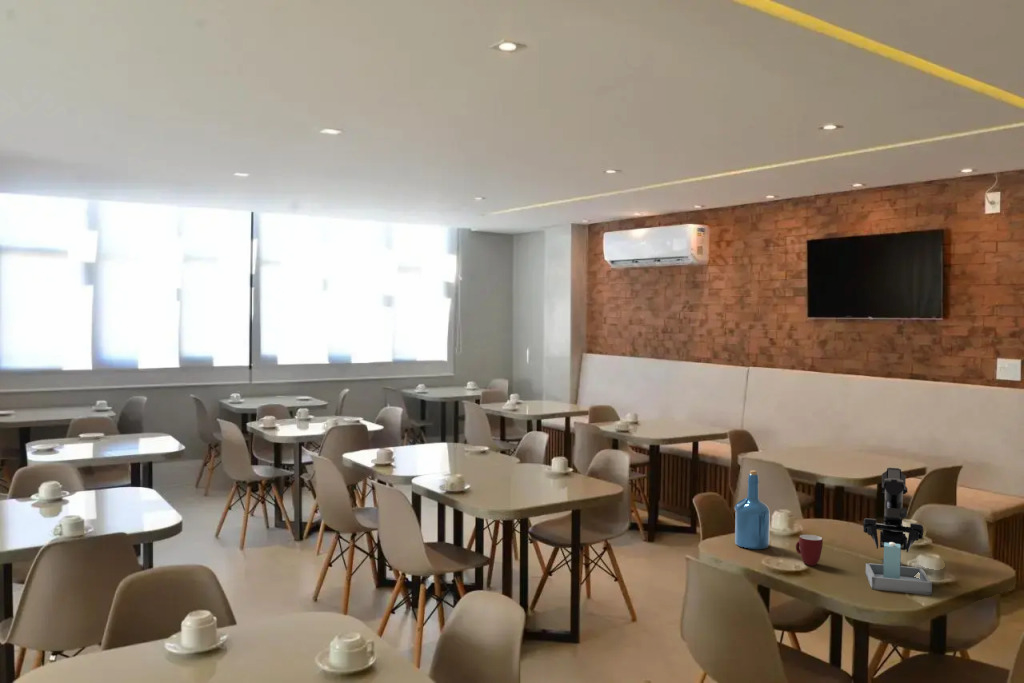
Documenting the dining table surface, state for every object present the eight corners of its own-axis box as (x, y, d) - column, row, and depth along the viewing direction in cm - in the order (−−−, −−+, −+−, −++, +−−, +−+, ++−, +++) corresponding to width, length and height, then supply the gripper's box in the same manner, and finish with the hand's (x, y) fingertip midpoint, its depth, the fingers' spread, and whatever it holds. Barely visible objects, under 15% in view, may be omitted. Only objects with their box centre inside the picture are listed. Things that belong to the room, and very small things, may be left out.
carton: (883, 578, 272) (884, 539, 272) (899, 580, 270) (900, 541, 270) (883, 582, 268) (884, 542, 268) (899, 584, 266) (900, 544, 266)
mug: (788, 561, 294) (788, 535, 294) (801, 558, 299) (801, 532, 299) (813, 568, 286) (814, 541, 285) (826, 565, 290) (827, 538, 290)
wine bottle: (766, 542, 321) (767, 468, 320) (772, 551, 308) (773, 474, 307) (731, 540, 323) (733, 467, 322) (736, 549, 310) (737, 473, 309)
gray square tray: (865, 574, 280) (865, 562, 280) (921, 579, 275) (921, 568, 275) (871, 589, 264) (872, 577, 264) (931, 595, 259) (932, 583, 259)
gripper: (864, 495, 280) (862, 533, 270) (923, 501, 271) (923, 541, 262) (864, 512, 287) (862, 550, 277) (922, 519, 278) (922, 558, 269)
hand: (892, 549), depth 271 cm, fingers open, 9 cm apart
